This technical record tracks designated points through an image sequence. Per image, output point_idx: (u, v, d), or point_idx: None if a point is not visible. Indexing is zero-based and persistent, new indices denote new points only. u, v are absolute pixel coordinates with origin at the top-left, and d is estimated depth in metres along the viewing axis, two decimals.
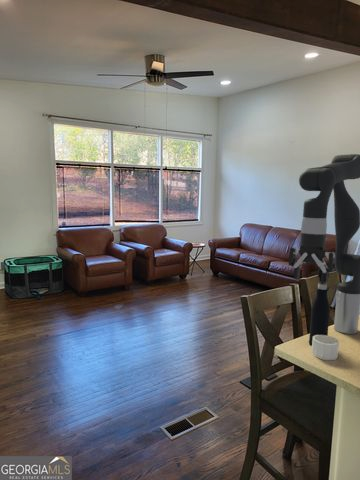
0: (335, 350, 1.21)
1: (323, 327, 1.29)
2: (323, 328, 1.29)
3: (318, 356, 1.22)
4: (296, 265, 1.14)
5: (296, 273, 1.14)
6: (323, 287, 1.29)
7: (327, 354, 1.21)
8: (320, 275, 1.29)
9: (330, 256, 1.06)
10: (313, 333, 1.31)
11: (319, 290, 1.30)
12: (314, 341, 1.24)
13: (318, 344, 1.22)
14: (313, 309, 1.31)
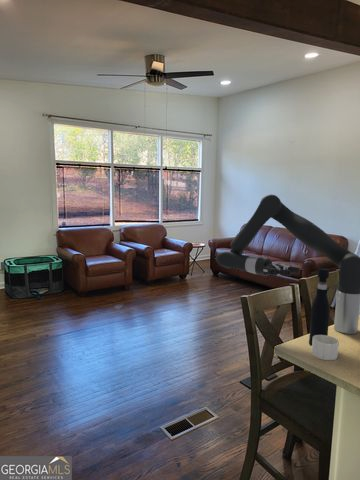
0: (335, 350, 1.21)
1: (323, 327, 1.29)
2: (323, 328, 1.29)
3: (318, 356, 1.22)
4: None
5: (294, 272, 1.42)
6: (323, 287, 1.29)
7: (327, 354, 1.21)
8: (320, 275, 1.29)
9: None
10: (313, 333, 1.31)
11: (319, 290, 1.30)
12: (314, 341, 1.24)
13: (318, 344, 1.22)
14: (313, 309, 1.31)
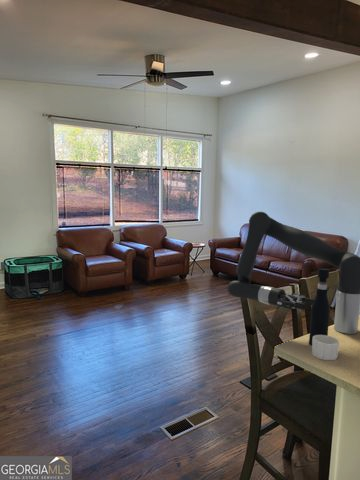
0: (335, 350, 1.21)
1: (323, 327, 1.29)
2: (323, 328, 1.29)
3: (318, 356, 1.22)
4: None
5: (308, 303, 1.39)
6: (323, 287, 1.29)
7: (327, 354, 1.21)
8: (320, 275, 1.29)
9: None
10: (313, 333, 1.31)
11: (319, 290, 1.30)
12: (314, 341, 1.24)
13: (318, 344, 1.22)
14: (313, 309, 1.31)
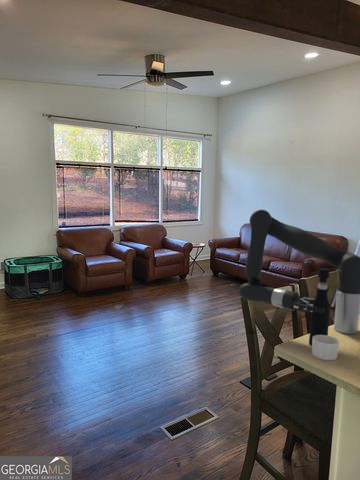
0: (335, 350, 1.21)
1: (323, 327, 1.29)
2: (323, 328, 1.29)
3: (318, 356, 1.22)
4: None
5: None
6: (323, 287, 1.29)
7: (327, 354, 1.21)
8: (320, 275, 1.29)
9: None
10: (313, 333, 1.31)
11: (319, 290, 1.30)
12: (314, 341, 1.24)
13: (318, 344, 1.22)
14: None
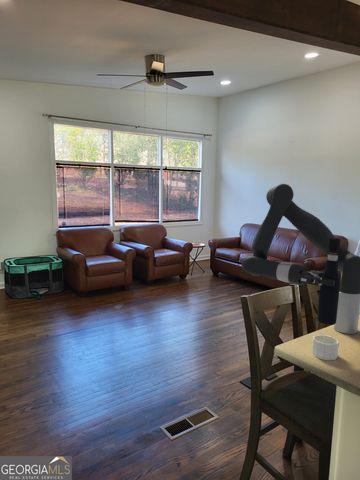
0: (335, 350, 1.21)
1: (333, 301, 1.19)
2: (333, 303, 1.20)
3: (318, 356, 1.22)
4: None
5: None
6: (334, 258, 1.19)
7: (327, 354, 1.21)
8: (330, 245, 1.19)
9: None
10: (321, 308, 1.22)
11: (329, 261, 1.20)
12: (314, 341, 1.24)
13: (318, 344, 1.22)
14: None
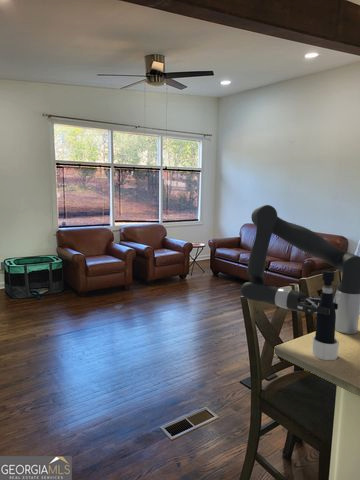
0: (335, 350, 1.21)
1: (329, 333, 1.21)
2: (329, 335, 1.21)
3: (318, 356, 1.22)
4: None
5: None
6: (328, 291, 1.21)
7: (327, 354, 1.21)
8: (325, 278, 1.20)
9: None
10: (318, 340, 1.23)
11: (324, 294, 1.21)
12: (314, 341, 1.24)
13: (318, 344, 1.22)
14: (318, 314, 1.23)
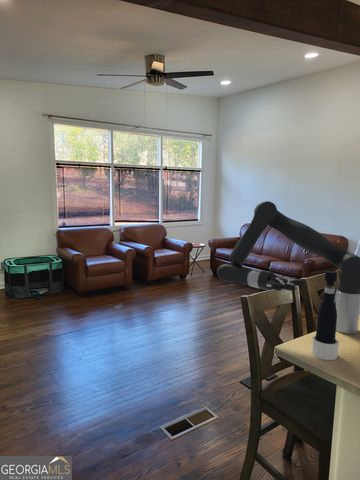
0: (335, 350, 1.21)
1: (330, 334, 1.21)
2: (330, 335, 1.21)
3: (318, 356, 1.22)
4: None
5: (299, 285, 1.35)
6: (330, 291, 1.21)
7: (327, 354, 1.21)
8: (327, 278, 1.20)
9: None
10: (319, 340, 1.23)
11: (326, 294, 1.21)
12: (314, 341, 1.24)
13: (318, 344, 1.22)
14: (319, 314, 1.23)
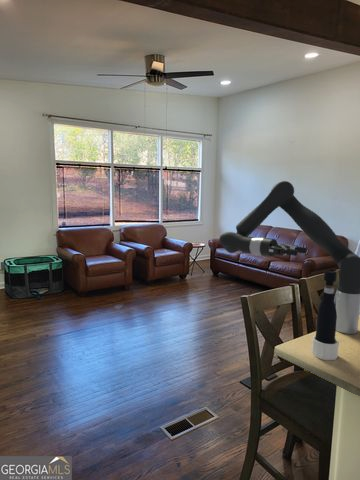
0: (335, 350, 1.21)
1: (330, 334, 1.21)
2: (330, 335, 1.21)
3: (318, 356, 1.22)
4: None
5: (301, 252, 1.35)
6: (330, 291, 1.21)
7: (327, 354, 1.21)
8: (327, 278, 1.21)
9: (271, 253, 1.32)
10: (319, 340, 1.23)
11: (325, 294, 1.21)
12: (314, 341, 1.24)
13: (318, 344, 1.22)
14: (319, 314, 1.23)
